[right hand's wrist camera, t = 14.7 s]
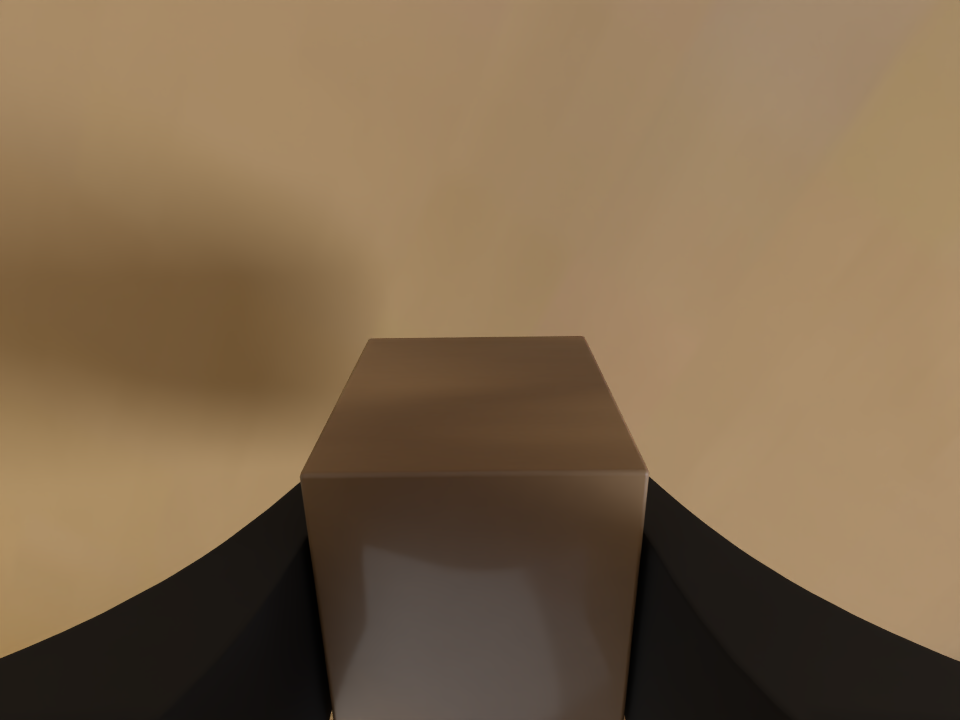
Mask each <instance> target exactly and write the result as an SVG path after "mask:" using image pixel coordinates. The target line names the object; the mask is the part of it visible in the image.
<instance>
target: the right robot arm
mask: <svg viewBox="0 0 960 720" xmlns="http://www.w3.org/2000/svg"><path fill="white" fill-rule="evenodd" d="M331 711H332V706H331V698H330V691H329V684H328V677H327V669H326V662H325V655H324V648H323V640H322V633H321V626H320V619H319V611H318V604H317V597H316V590H315V582H314V575H313V568H312V561H311V553H310V546H309V539H308V532H307V525H306V517H305V510H304V503H303V496H302V488H301V482H300V483H299V484H297V485H296V486H295V487H294V488H293V489H291V490H290V491H289V492H288V493H287V494H286V495H284V496H283V497H282V498H281V499H280V500H278V501H277V502H276V503H275V504H274V505H272V506H271V507H270V508H269V509H268V510H266V511H265V512H264V513H262V514H261V515H260V516H258V517H257V518H256V519H254V520H253V521H252V522H250V523H249V524H248V525H246V526H245V527H244V528H242V529H241V530H240V531H239V532H237V533H236V534H235V535H233V536H232V537H231V538H229V539H228V540H227V541H225V542H224V543H222V544H221V545H219V546H218V547H217V548H215V549H214V550H212V551H211V552H209V553H208V554H206V555H205V556H203V557H202V558H200V559H198V560H197V561H195V562H194V563H192V564H190V565H189V566H187V567H185V568H184V569H182V570H181V571H179V572H177V573H176V574H174V575H173V576H171V577H169V578H167V579H166V580H164V581H162V582H161V583H159V584H157V585H155V586H153V587H151V588H149V589H147V590H145V591H144V592H142V593H140V594H138V595H136V596H134V597H132V598H130V599H129V600H127V601H125V602H123V603H121V604H119V605H117V606H115V607H114V608H112V609H110V610H108V611H106V612H104V613H102V614H100V615H98V616H96V617H94V618H92V619H90V620H87V621H85V622H83V623H81V624H79V625H77V626H75V627H72V628H70V629H68V630H66V631H64V632H62V633H59V634H57V635H55V636H52V637H50V638H48V639H46V640H43V641H41V642H39V643H36V644H34V645H32V646H29V647H27V648H25V649H22V650H20V651H17V652H15V653H13V654H10V655H8V656H5V657H3V658H0V720H329V719H330V715H331ZM624 715H625V719H626V720H960V661H957V660H954V659H952V658H949V657H947V656H944V655H942V654H939V653H937V652H935V651H932V650H930V649H928V648H926V647H923V646H921V645H919V644H916V643H914V642H912V641H909V640H907V639H905V638H903V637H900V636H898V635H896V634H893V633H891V632H889V631H887V630H885V629H882V628H880V627H878V626H876V625H874V624H872V623H870V622H868V621H865V620H863V619H861V618H859V617H857V616H855V615H853V614H851V613H849V612H847V611H845V610H843V609H841V608H840V607H838V606H836V605H834V604H832V603H830V602H828V601H826V600H824V599H822V598H820V597H818V596H817V595H815V594H813V593H811V592H809V591H807V590H806V589H804V588H802V587H800V586H799V585H797V584H795V583H793V582H791V581H790V580H788V579H786V578H785V577H783V576H782V575H780V574H778V573H777V572H775V571H774V570H772V569H770V568H769V567H767V566H765V565H764V564H762V563H761V562H759V561H757V560H756V559H754V558H753V557H751V556H750V555H748V554H747V553H745V552H744V551H742V550H741V549H739V548H738V547H736V546H735V545H734V544H732V543H731V542H729V541H728V540H727V539H725V538H724V537H723V536H721V535H720V534H719V533H717V532H716V531H714V530H713V529H712V528H710V527H709V526H708V525H706V524H705V523H704V522H703V521H701V520H700V519H699V518H697V517H696V516H695V515H694V514H692V513H691V512H690V511H689V510H687V509H686V508H685V507H684V506H683V505H681V504H680V503H679V502H678V501H677V500H675V499H674V498H673V497H672V496H671V495H670V494H668V493H667V492H666V491H665V490H664V489H663V488H661V487H660V486H659V485H658V484H657V483H656V482H655V481H654V480H652V479H651V478H650V477H649V480H648V489H647V499H646V509H645V519H644V528H643V538H642V548H641V558H640V567H639V577H638V587H637V597H636V606H635V616H634V626H633V636H632V645H631V655H630V665H629V675H628V684H627V694H626V704H625V714H624Z"/></svg>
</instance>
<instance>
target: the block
mask: <svg viewBox="0 0 960 720" xmlns="http://www.w3.org/2000/svg"><path fill="white" fill-rule="evenodd" d="M648 480H649V471H648V469H647V467H646V464H645V462H644V460H643V458H642V456H641V454H640V452H639V450H638V448H637V446H636V444H635V442H634V439H633V437H632V435H631V433H630V431H629V429H628V427H627V425H626V423H625V421H624V419H623V417H622V414H621V412H620V410H619V408H618V406H617V404H616V402H615V400H614V398H613V396H612V394H611V392H610V389H609V387H608V385H607V383H606V381H605V379H604V377H603V375H602V373H601V371H600V369H599V366H598V364H597V362H596V360H595V358H594V356H593V354H592V352H591V350H590V348H589V346H588V344H587V341H586V339H585V337H583V336H554V337H464V338H375V339H369V340H368V342H367V344H366V346H365V348H364V350H363V352H362V354H361V356H360V358H359V360H358V362H357V364H356V366H355V368H354V370H353V371H352V373H351V375H350V377H349V379H348V381H347V383H346V385H345V387H344V389H343V391H342V393H341V395H340V397H339V399H338V401H337V403H336V405H335V407H334V409H333V411H332V413H331V415H330V417H329V419H328V421H327V423H326V425H325V427H324V429H323V431H322V433H321V435H320V437H319V439H318V441H317V442H316V444H315V446H314V448H313V450H312V452H311V454H310V456H309V458H308V460H307V462H306V464H305V466H304V468H303V470H302V472H301V475H300V481H301V488H302V496H303V503H304V510H305V517H306V525H307V532H308V539H309V546H310V553H311V561H312V568H313V575H314V582H315V590H316V597H317V604H318V611H319V619H320V626H321V633H322V640H323V648H324V655H325V662H326V669H327V677H328V684H329V691H330V698H331V706H332V713H333V720H624V714H625V704H626V694H627V684H628V675H629V665H630V655H631V645H632V636H633V626H634V616H635V606H636V597H637V587H638V577H639V567H640V558H641V548H642V538H643V528H644V519H645V509H646V499H647V489H648Z"/></svg>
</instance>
